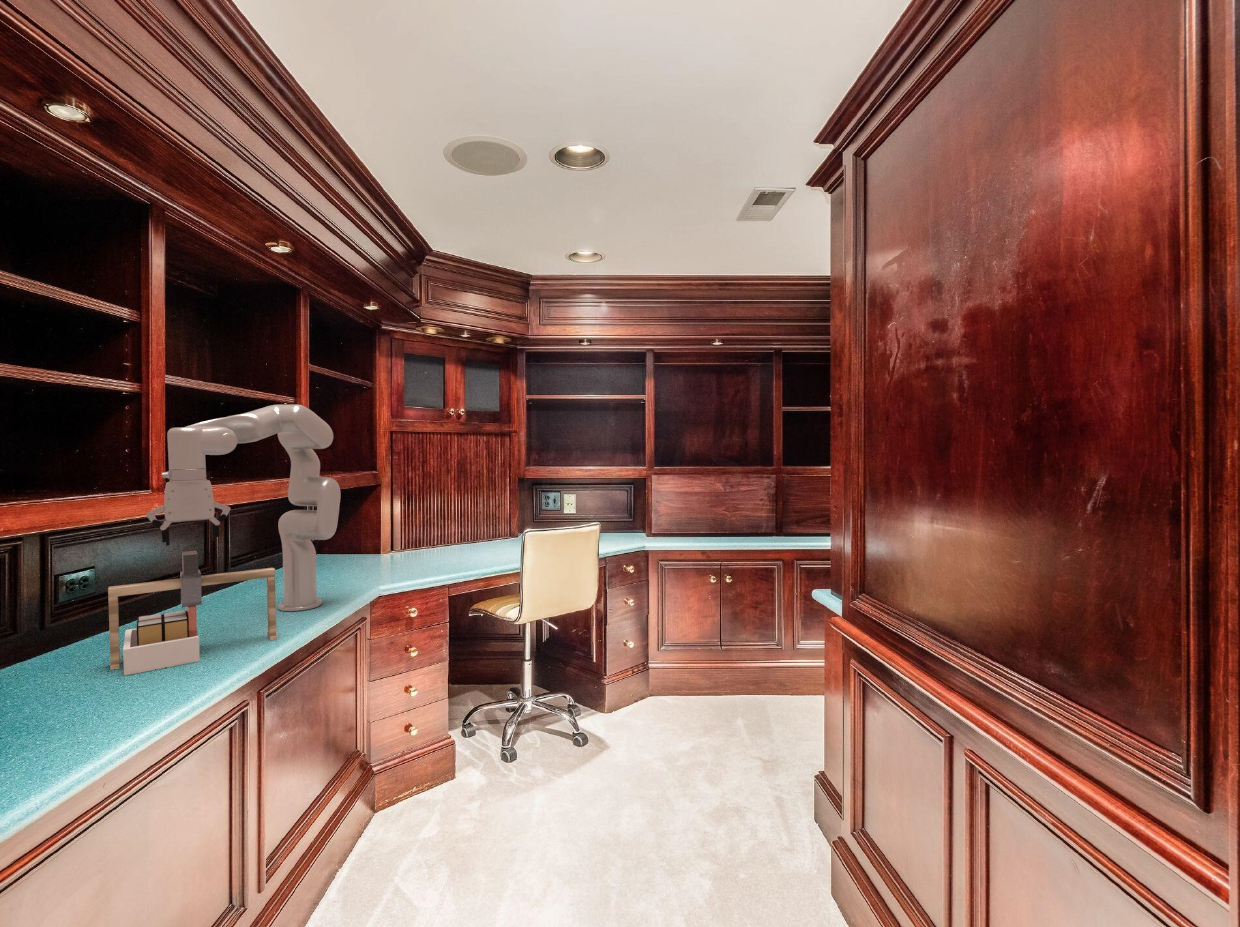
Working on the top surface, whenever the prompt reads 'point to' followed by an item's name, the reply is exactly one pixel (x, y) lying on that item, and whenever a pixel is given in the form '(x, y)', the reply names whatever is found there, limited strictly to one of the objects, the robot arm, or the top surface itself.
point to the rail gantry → (176, 584)
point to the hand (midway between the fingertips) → (191, 542)
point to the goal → (157, 653)
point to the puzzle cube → (162, 627)
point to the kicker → (191, 588)
